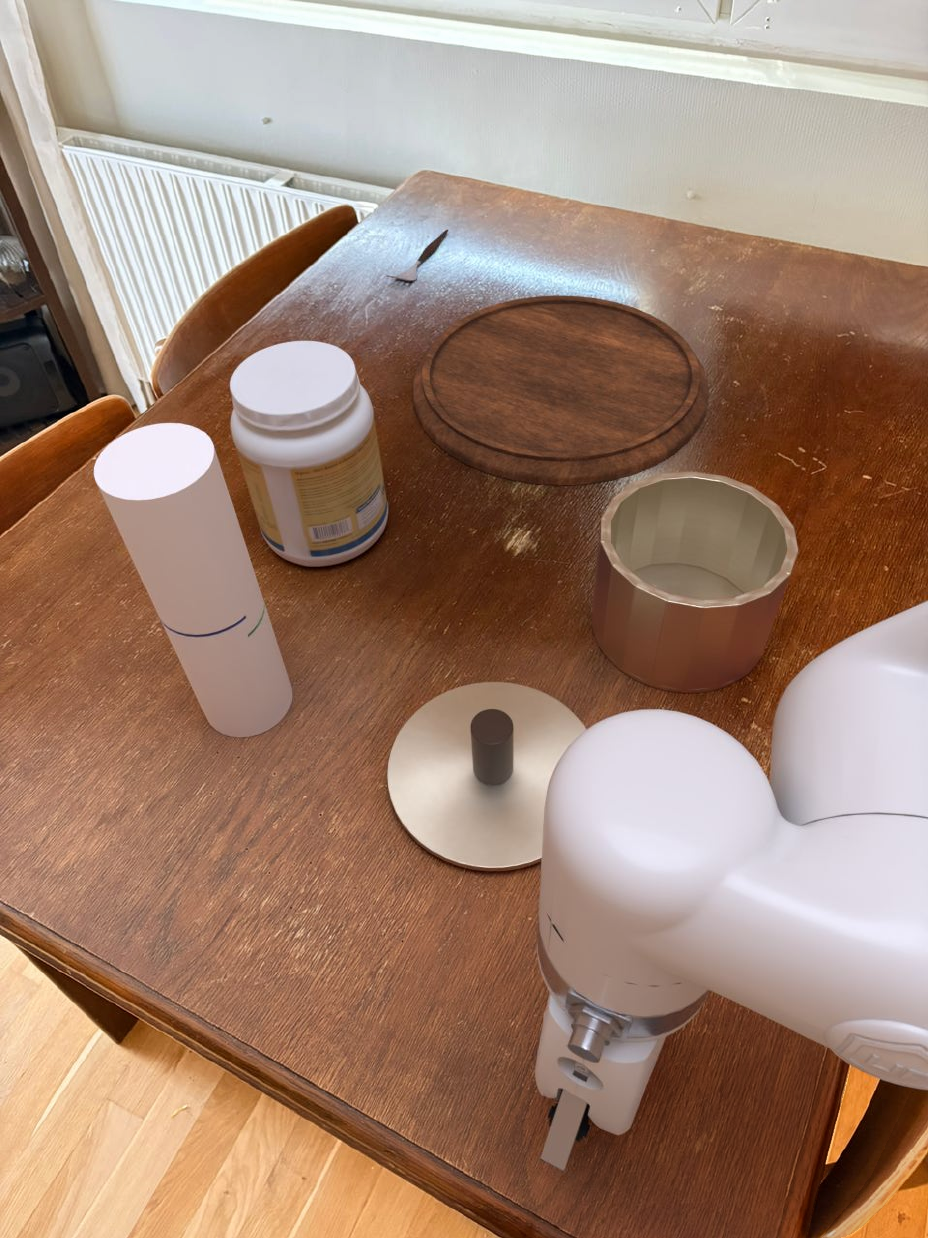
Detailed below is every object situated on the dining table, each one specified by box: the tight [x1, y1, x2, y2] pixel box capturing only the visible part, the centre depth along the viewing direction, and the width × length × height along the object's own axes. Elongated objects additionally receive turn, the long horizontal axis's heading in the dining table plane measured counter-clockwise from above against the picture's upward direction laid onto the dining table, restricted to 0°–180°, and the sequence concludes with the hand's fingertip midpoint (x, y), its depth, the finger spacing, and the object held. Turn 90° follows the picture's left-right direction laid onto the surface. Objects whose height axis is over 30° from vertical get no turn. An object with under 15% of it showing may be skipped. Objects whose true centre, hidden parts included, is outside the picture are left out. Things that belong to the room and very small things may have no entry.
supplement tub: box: [229, 340, 389, 568], centre depth 79 cm, size 12×12×17 cm
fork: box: [385, 229, 449, 282], centre depth 117 cm, size 3×16×2 cm, turn 156°
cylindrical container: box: [93, 422, 294, 738], centre depth 63 cm, size 7×7×25 cm
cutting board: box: [412, 294, 710, 486], centre depth 97 cm, size 32×32×2 cm
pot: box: [591, 470, 799, 694], centre depth 72 cm, size 15×15×10 cm
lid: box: [386, 681, 588, 872], centre depth 65 cm, size 16×16×7 cm
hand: (596, 1055), depth 51 cm, fingers closed on pill bottle, 4 cm apart
